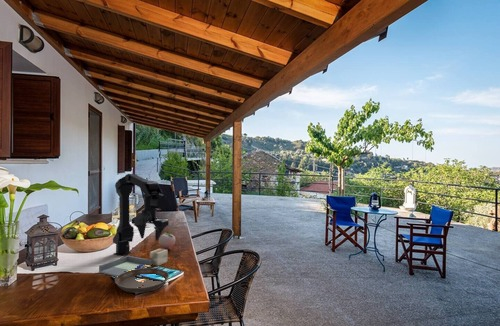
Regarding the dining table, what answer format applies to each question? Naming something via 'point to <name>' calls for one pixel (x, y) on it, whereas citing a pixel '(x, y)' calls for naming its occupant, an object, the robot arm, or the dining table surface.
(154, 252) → the birch block
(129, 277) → the plant saucer
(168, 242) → the decorative fruit
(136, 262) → the corner arena
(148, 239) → the dining table surface
